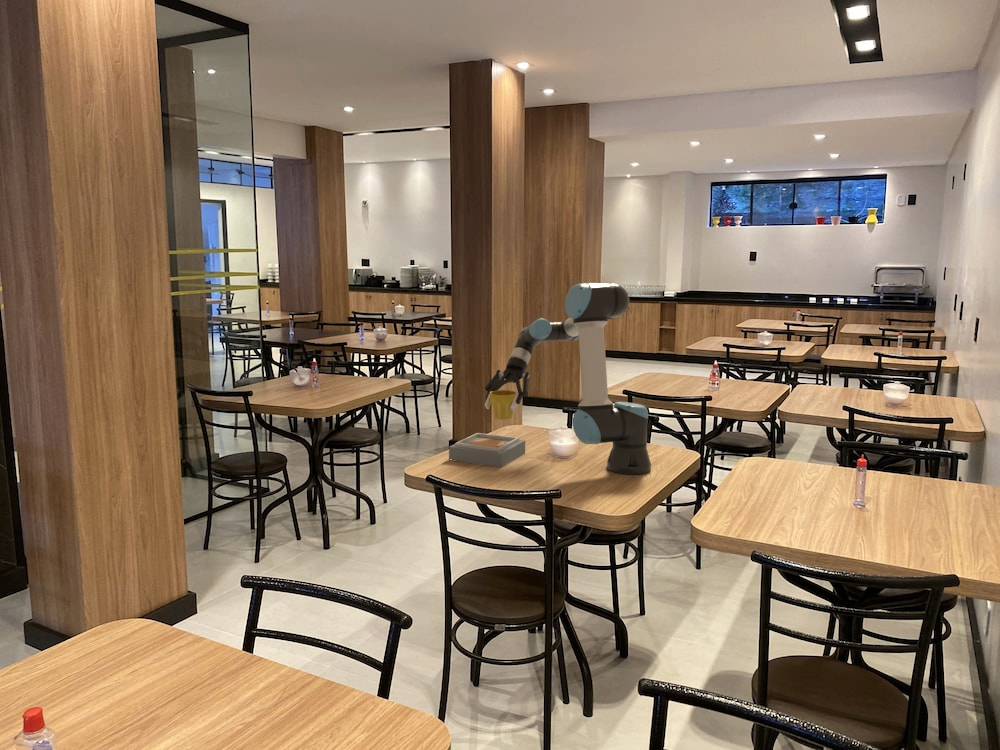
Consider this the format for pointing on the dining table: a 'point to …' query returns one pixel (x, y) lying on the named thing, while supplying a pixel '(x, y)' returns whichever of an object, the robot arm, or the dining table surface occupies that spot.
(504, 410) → the plant pot
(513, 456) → the grey square tray
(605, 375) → the robot arm
